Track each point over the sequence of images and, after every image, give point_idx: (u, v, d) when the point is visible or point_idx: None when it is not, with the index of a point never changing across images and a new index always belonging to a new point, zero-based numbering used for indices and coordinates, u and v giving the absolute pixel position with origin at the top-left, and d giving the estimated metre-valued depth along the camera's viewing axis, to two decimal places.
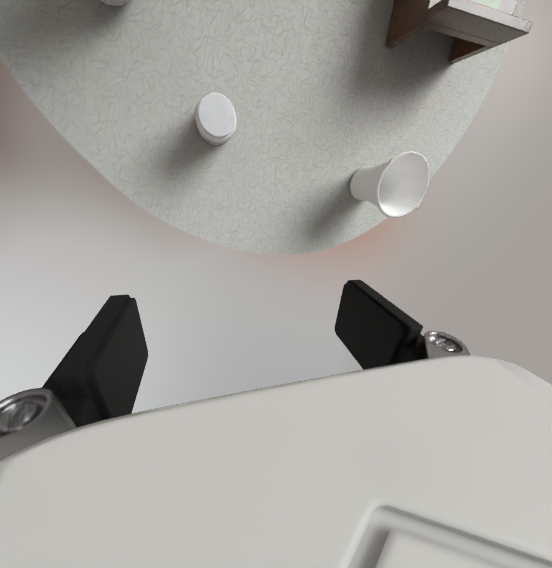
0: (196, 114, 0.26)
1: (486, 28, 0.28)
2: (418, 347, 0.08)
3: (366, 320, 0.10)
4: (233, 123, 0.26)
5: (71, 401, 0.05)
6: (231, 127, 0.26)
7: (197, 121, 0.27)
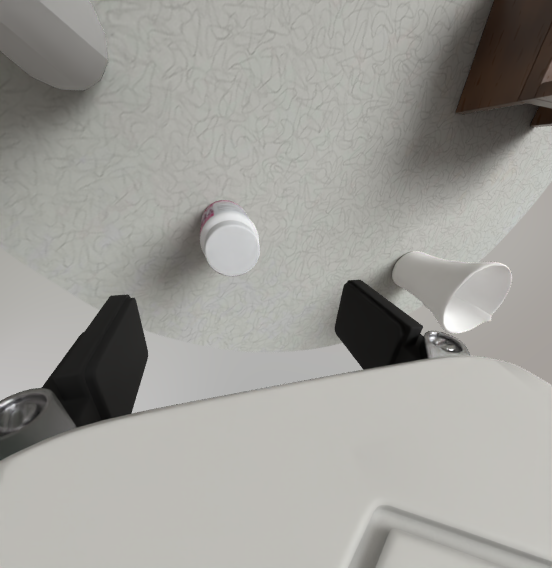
0: (201, 241, 0.18)
1: None
2: (418, 347, 0.08)
3: (366, 320, 0.10)
4: (256, 258, 0.17)
5: (71, 401, 0.05)
6: (253, 263, 0.18)
7: (203, 249, 0.18)
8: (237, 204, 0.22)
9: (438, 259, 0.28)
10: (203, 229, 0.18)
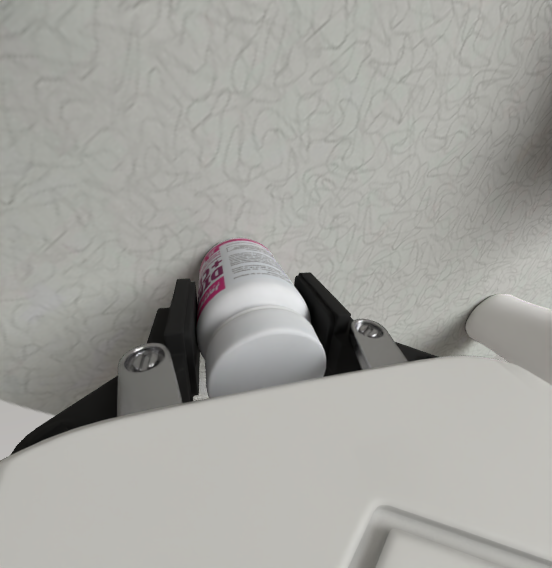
0: (200, 341, 0.09)
1: None
2: (348, 334, 0.08)
3: (309, 310, 0.10)
4: None
5: (173, 355, 0.07)
6: None
7: (203, 354, 0.09)
8: (261, 245, 0.13)
9: None
10: (203, 319, 0.08)
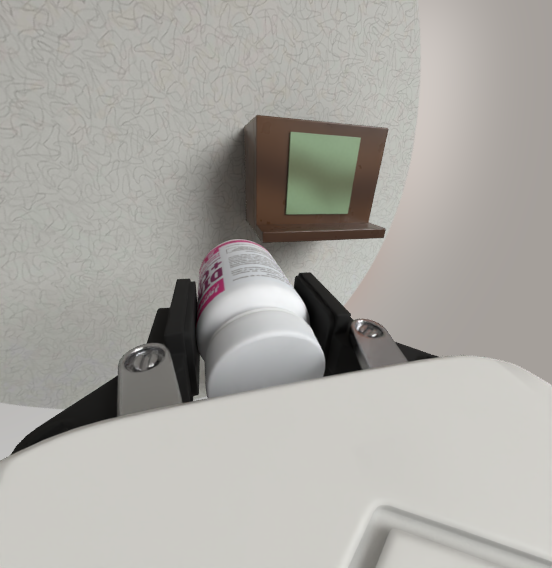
0: (199, 343, 0.09)
1: None
2: (348, 334, 0.08)
3: (309, 310, 0.10)
4: None
5: (173, 355, 0.07)
6: None
7: (202, 356, 0.09)
8: (260, 246, 0.13)
9: None
10: (203, 321, 0.08)
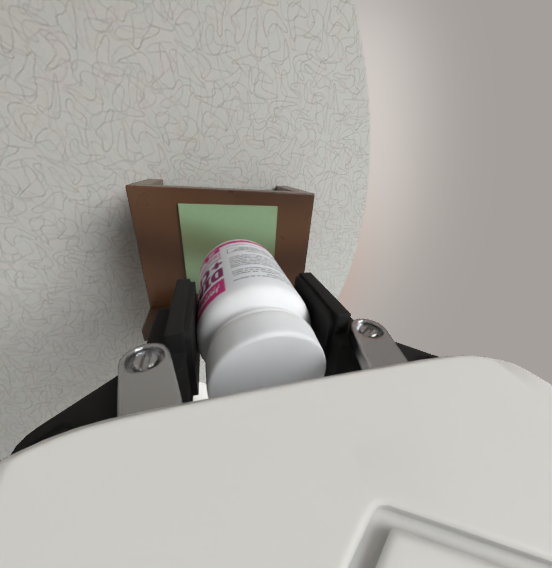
0: (200, 343, 0.09)
1: None
2: (348, 334, 0.08)
3: (309, 310, 0.10)
4: None
5: (173, 355, 0.07)
6: None
7: (203, 356, 0.09)
8: (261, 246, 0.13)
9: None
10: (203, 321, 0.08)
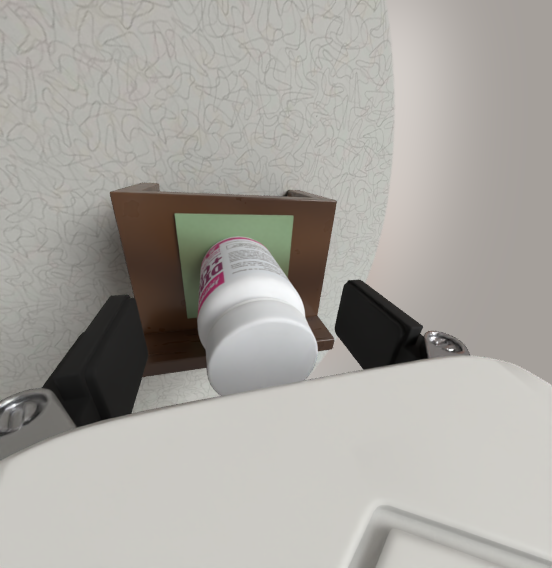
0: (201, 332, 0.09)
1: None
2: (418, 347, 0.08)
3: (366, 320, 0.10)
4: (310, 369, 0.09)
5: (71, 401, 0.05)
6: (303, 378, 0.09)
7: (203, 344, 0.10)
8: (259, 243, 0.14)
9: None
10: (204, 310, 0.09)
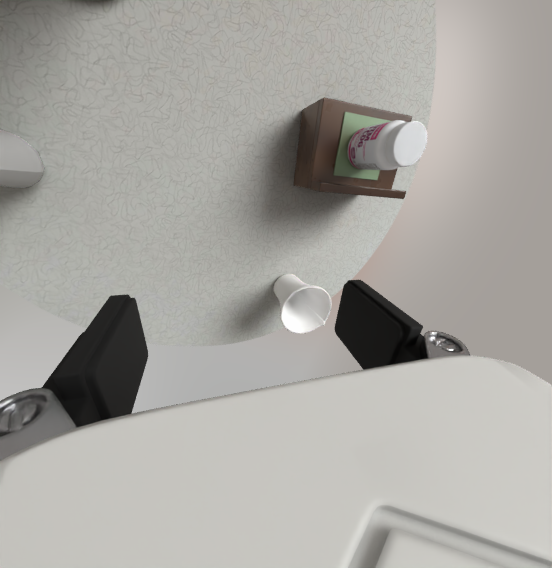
0: (379, 141, 0.24)
1: None
2: (418, 347, 0.08)
3: (366, 320, 0.10)
4: (422, 153, 0.24)
5: (71, 401, 0.05)
6: (419, 157, 0.24)
7: (378, 148, 0.25)
8: None
9: (294, 281, 0.41)
10: (383, 131, 0.24)
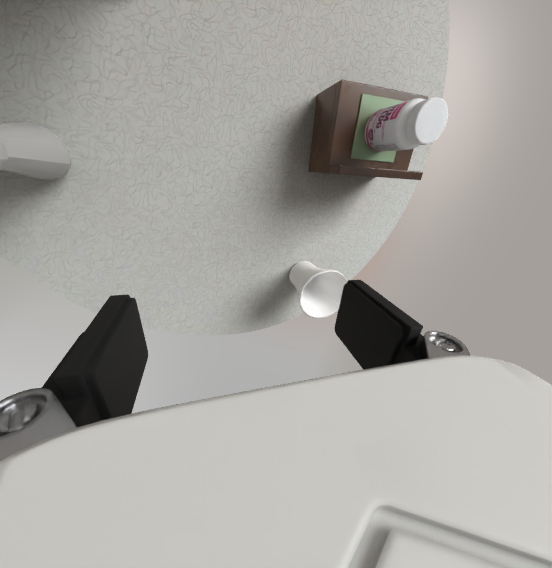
0: (399, 120, 0.25)
1: None
2: (418, 347, 0.08)
3: (366, 320, 0.10)
4: (442, 130, 0.24)
5: (71, 401, 0.05)
6: (439, 134, 0.24)
7: (398, 127, 0.25)
8: None
9: (310, 267, 0.41)
10: (403, 110, 0.25)
